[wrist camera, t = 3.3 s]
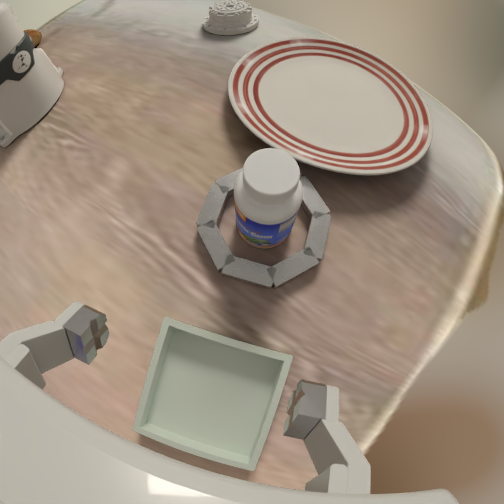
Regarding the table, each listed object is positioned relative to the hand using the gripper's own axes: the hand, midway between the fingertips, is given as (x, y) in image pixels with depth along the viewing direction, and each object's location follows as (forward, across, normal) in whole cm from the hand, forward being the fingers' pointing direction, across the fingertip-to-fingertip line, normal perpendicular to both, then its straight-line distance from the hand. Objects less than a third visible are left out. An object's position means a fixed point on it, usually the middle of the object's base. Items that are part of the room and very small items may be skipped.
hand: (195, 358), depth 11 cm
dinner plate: (+34, -4, -12) cm, 36 cm away
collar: (+20, 0, +2) cm, 20 cm away
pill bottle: (+20, 0, +2) cm, 20 cm away
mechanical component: (+46, +16, -24) cm, 54 cm away
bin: (+8, 0, +14) cm, 16 cm away
